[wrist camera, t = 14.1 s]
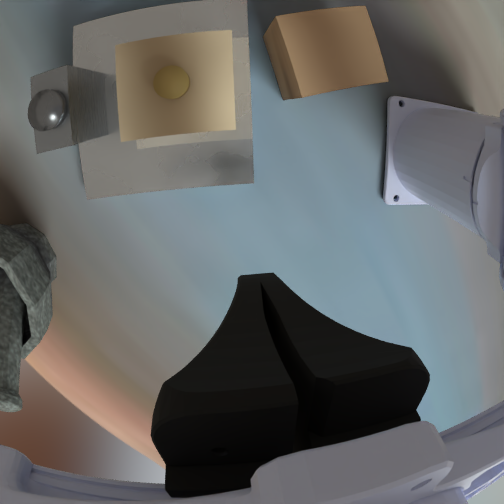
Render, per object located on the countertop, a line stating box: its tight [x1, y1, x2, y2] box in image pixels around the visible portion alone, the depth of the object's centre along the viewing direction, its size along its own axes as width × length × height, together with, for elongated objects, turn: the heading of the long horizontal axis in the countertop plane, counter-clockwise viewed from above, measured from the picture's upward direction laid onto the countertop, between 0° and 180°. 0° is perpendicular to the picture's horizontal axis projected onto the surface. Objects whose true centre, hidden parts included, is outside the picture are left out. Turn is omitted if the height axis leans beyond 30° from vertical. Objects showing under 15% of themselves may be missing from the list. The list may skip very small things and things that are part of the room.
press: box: [28, 0, 254, 200], centre depth 14 cm, size 11×12×7 cm
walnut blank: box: [263, 6, 389, 100], centre depth 15 cm, size 5×4×5 cm
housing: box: [115, 30, 236, 142], centre depth 13 cm, size 5×4×6 cm
